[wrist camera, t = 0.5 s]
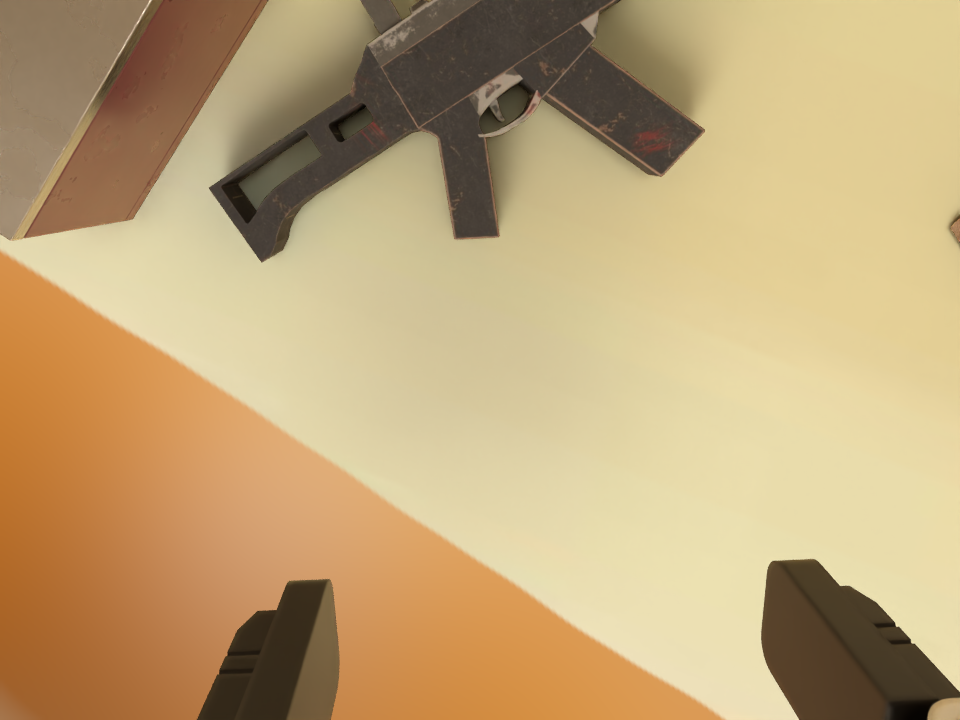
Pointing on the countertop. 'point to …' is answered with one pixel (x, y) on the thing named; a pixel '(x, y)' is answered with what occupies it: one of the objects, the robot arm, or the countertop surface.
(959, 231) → the sculpture
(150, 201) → the countertop surface
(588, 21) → the toy gun
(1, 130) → the lid
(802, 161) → the countertop surface
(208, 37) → the open wooden cubby
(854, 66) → the countertop surface
